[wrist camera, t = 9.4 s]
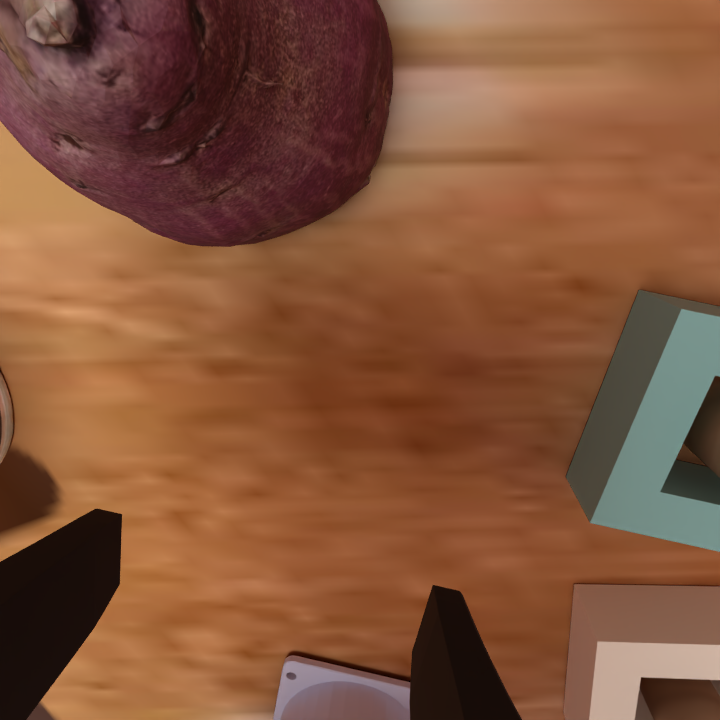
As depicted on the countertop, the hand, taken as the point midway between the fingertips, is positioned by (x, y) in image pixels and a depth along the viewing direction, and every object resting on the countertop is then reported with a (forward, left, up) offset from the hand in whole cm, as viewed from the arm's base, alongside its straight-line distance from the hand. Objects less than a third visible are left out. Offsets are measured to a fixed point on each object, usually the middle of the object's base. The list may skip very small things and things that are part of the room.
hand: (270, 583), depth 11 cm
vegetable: (+11, +5, -10) cm, 16 cm away
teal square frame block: (+3, -14, -10) cm, 17 cm away
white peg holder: (-9, -17, -10) cm, 22 cm away
